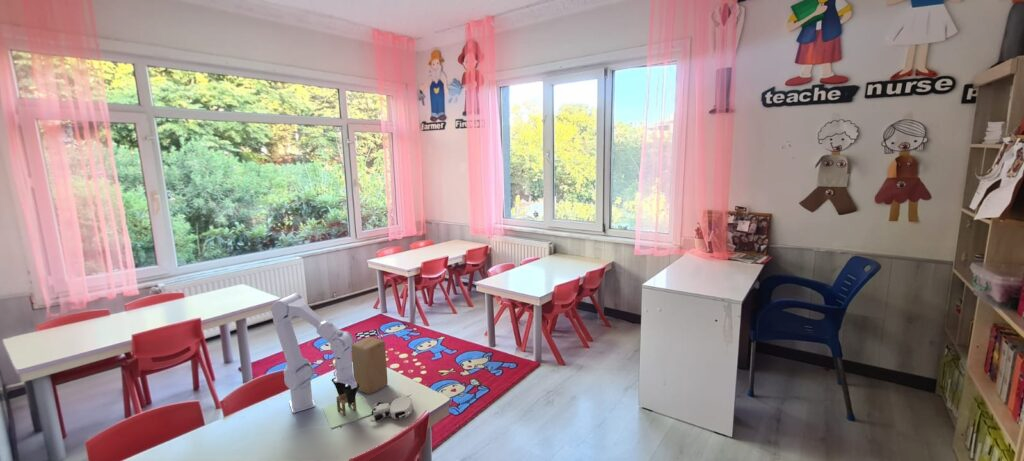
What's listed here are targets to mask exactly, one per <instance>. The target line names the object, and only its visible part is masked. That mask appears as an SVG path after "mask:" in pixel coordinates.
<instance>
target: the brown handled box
mask: <svg viewBox="0 0 1024 461" xmlns="http://www.w3.org/2000/svg"><path fill="white" fill-rule="evenodd" d="M356 397H357V396H356ZM356 397H355V402H354V403H353V404H352V403H351V404H348V407H351V405H352V406H353V410H354V411H357V410H356ZM335 399H336V403H337V410H338V412H340V411H342V412H343V416H346V410H345V403H348V401H347V396H346V394H345V393H344V394H341V395H336V398H335ZM340 403H341V404H342V408H341V407H340Z"/></svg>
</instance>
